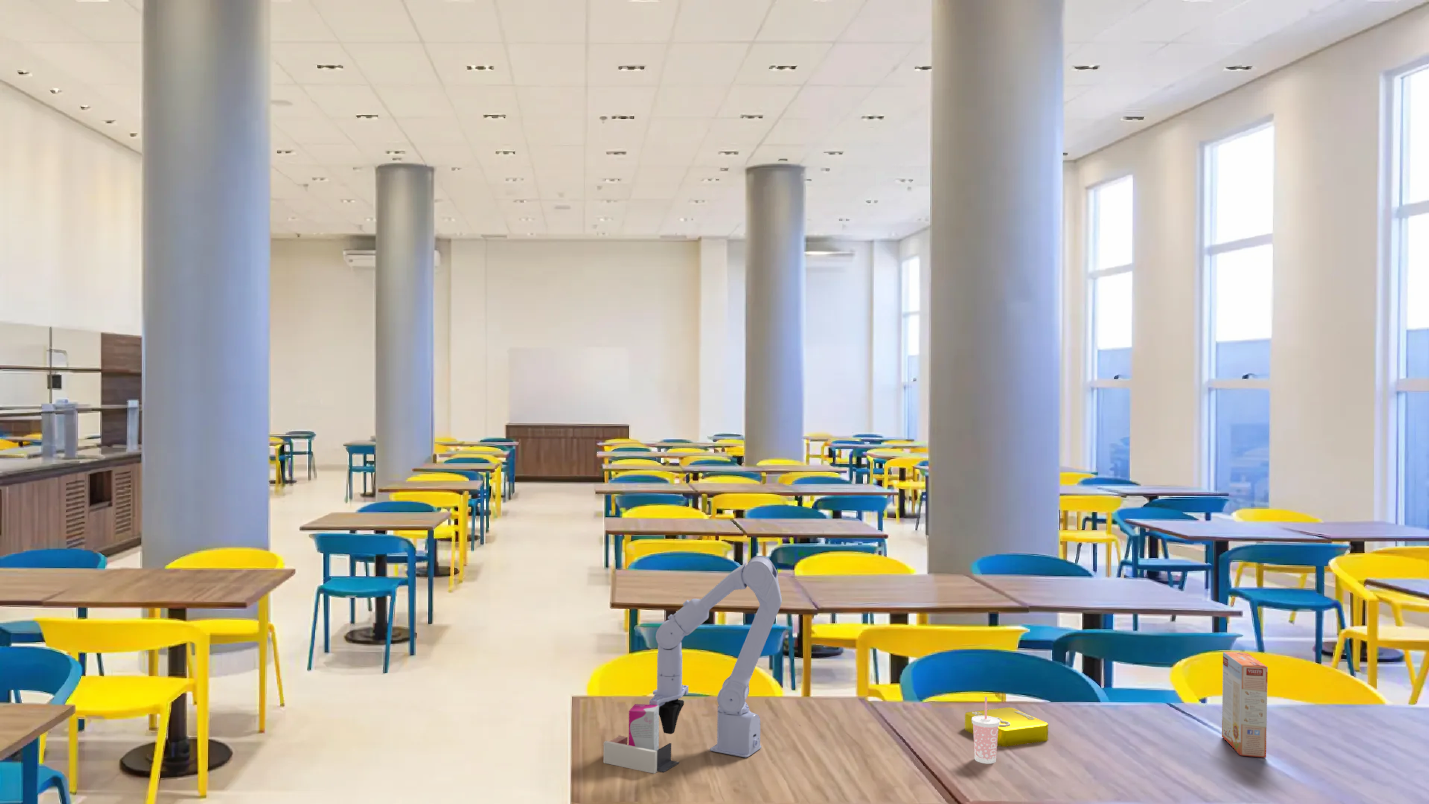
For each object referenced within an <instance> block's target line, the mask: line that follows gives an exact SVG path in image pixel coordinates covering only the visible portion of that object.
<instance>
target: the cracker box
mask: <svg viewBox="0 0 1429 804" xmlns="http://www.w3.org/2000/svg"><path fill="white" fill-rule="evenodd" d="M1268 670H1269V669H1268V666H1266V665H1265V664H1264V663H1262V662H1260V660H1258V659H1257V658H1255V657H1254V656H1253V655H1251V654H1249V653H1247V652H1241V651H1236V652H1235V651H1223V652H1222V698H1221V699H1222V703H1221V705H1222V707H1221V708H1222V709H1221V710H1222V712H1221V714H1222V715H1221V718H1222V719H1221V738H1222V737H1223V738H1224V739H1223V738H1222V739H1223V740H1224V741H1225V740H1226V741H1227V742H1228V743H1229V744H1230V745H1231V746H1232V747H1231V748H1232V749H1233V748H1234V749H1233V750H1234V751H1236V752H1237V754H1238V755H1239V756H1243V757H1254V758H1264V759H1265V758H1267V729H1268V728H1267V727H1268V724H1267V723H1268V719H1267V718H1268V717H1267V716H1268V674H1269V673H1268ZM1226 741H1225V742H1226ZM1227 742H1226V743H1227ZM1228 743H1227V744H1228ZM1229 744H1228V745H1229ZM1230 745H1229V746H1230Z"/></svg>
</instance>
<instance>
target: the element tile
mask: <svg viewBox="0 0 1429 804" xmlns="http://www.w3.org/2000/svg"><path fill="white" fill-rule="evenodd" d="M974 716H985V709H983V710H981V709H980V710H975V711H967V712H965V714H964V731H966V732H968V733H970V734H972V735H974V734H973V723H972V717H974ZM987 716H991V717H995V718H997V719H999V720H1000V725H999V726H998V739H997V747H1002V748H1003V747H1004V748H1005V747H1006V748H1008V747H1015V746H1020V745H1028V744H1027V743H1030V744H1035V743H1044V742H1048V741H1047V740H1049V724H1048V722H1046V721H1044V720H1042V719H1040V718H1038V717H1035V716H1033V715H1030V714H1028V713H1025V712H1023V711H1020V710H1018V709H1017V708H1014V707H1000V708H992V709H987Z"/></svg>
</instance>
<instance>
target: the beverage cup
mask: <svg viewBox="0 0 1429 804" xmlns="http://www.w3.org/2000/svg"><path fill="white" fill-rule="evenodd" d="M984 710H985V716H974V717H972V723H973V734H972V735H973V747H974V748H973V749H974V751H973V752H974V760H975V761H976V762H977V763H981V764H986V765H987V764H995V763H996V762H997V753H998V752H997V750H998V746H997V739H998V726H999V725H1000V720H999V719H997V718H995V717H991V716H987V710H988V697H987V696H984Z"/></svg>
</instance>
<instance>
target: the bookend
mask: <svg viewBox="0 0 1429 804" xmlns="http://www.w3.org/2000/svg"><path fill="white" fill-rule="evenodd" d="M679 764H680V762H679V761H677V760H672V742H671V743H670V742H669V743H667V744H665V745H664V746H662V747H659V749H658V750H657V772H659V773H666V772H667V771H669V770H670V769H672V768H674V767H675V766H677V765H679Z"/></svg>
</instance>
